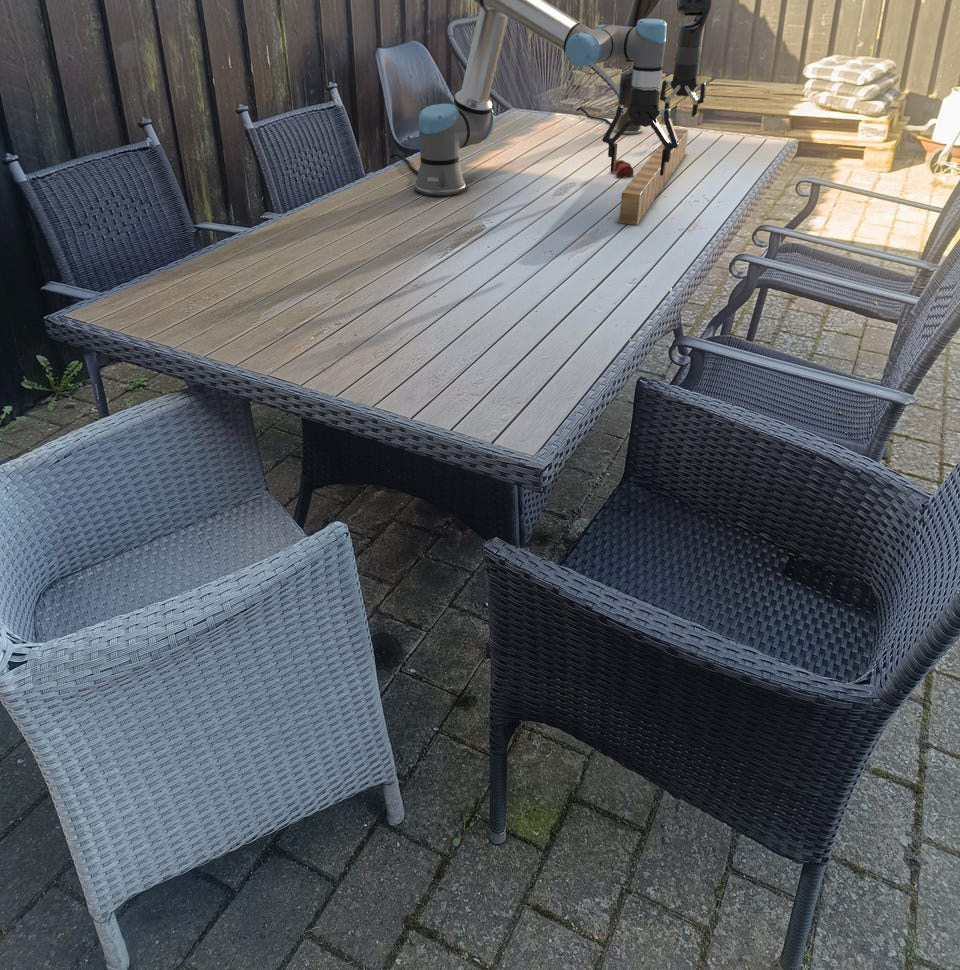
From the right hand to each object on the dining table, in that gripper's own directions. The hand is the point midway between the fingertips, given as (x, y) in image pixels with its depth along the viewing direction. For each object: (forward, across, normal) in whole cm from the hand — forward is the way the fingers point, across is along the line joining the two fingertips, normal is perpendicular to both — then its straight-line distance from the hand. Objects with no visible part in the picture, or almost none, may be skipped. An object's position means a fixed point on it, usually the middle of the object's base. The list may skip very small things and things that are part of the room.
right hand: (680, 115), depth 279 cm
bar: (+14, 0, +33) cm, 36 cm away
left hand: (+1, 0, +66) cm, 66 cm away
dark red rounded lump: (+14, +13, +25) cm, 31 cm away
